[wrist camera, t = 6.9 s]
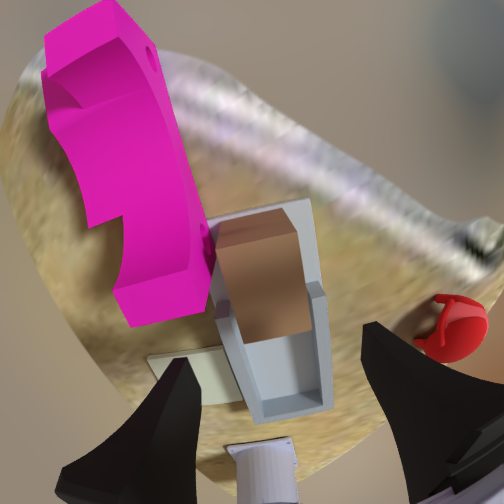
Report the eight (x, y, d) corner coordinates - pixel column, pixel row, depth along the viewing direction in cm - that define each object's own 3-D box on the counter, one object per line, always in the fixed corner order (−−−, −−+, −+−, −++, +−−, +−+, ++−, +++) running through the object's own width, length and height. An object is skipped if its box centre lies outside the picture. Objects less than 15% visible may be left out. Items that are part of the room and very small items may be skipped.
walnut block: (296, 288, 20) (312, 329, 16) (242, 299, 21) (243, 344, 16) (282, 207, 18) (297, 231, 14) (220, 221, 18) (215, 249, 14)
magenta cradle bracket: (76, 83, 15) (9, 63, 8) (155, 44, 14) (111, -5, 7) (136, 276, 19) (91, 335, 12) (217, 253, 19) (204, 311, 12)
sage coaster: (243, 395, 26) (243, 400, 25) (176, 403, 26) (176, 407, 25) (223, 344, 23) (223, 349, 22) (148, 355, 23) (146, 359, 23)
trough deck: (329, 387, 26) (336, 407, 23) (251, 403, 26) (252, 425, 23) (307, 196, 19) (318, 205, 16) (190, 222, 19) (182, 236, 16)
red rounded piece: (467, 280, 18) (445, 349, 17) (503, 310, 18) (485, 373, 16) (418, 295, 26) (396, 348, 24) (453, 319, 25) (435, 369, 24)
